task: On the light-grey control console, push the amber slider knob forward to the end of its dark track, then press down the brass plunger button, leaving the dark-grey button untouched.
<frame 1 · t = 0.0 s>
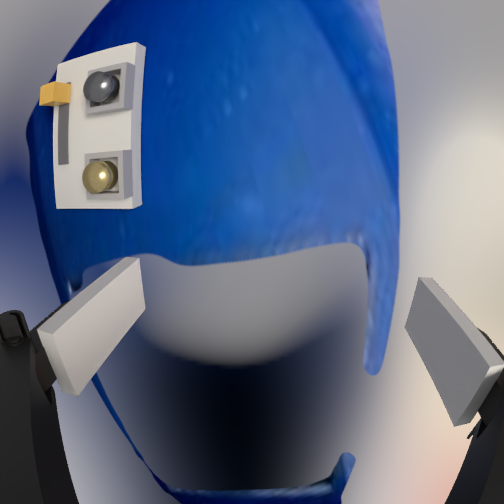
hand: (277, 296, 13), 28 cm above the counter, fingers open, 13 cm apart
brass button: (100, 176, 34), point 6 cm above the counter, slide at 0.0 cm
console: (99, 128, 38), on the counter
grey button: (101, 87, 30), point 6 cm above the counter, slide at 0.0 cm
slider knob: (55, 94, 32), point 6 cm above the counter, slide at 0.0 cm
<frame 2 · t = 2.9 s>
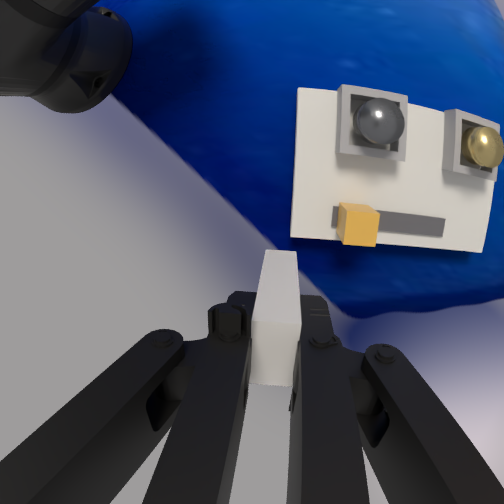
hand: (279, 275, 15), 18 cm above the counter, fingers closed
brass button: (482, 146, 21), point 6 cm above the counter, slide at 0.0 cm
console: (400, 172, 29), on the counter
grey button: (378, 121, 22), point 6 cm above the counter, slide at 0.0 cm
slider knob: (356, 223, 27), point 5 cm above the counter, slide at 0.0 cm
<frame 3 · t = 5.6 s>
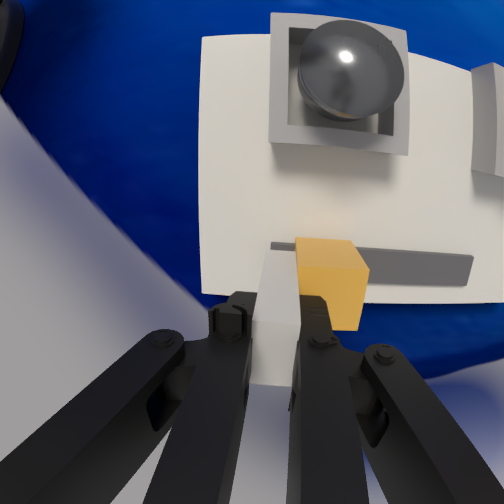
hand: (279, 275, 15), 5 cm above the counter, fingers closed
console: (398, 175, 17), on the counter
grey button: (346, 73, 10), point 6 cm above the counter, slide at 0.0 cm
slider knob: (325, 280, 14), point 6 cm above the counter, slide at 0.8 cm, touching gripper
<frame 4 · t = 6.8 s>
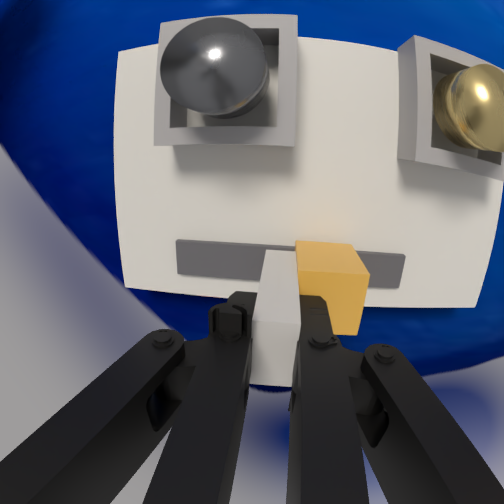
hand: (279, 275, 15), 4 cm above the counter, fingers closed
brass button: (479, 109, 10), point 6 cm above the counter, slide at 0.0 cm
console: (320, 170, 18), on the counter
grey button: (219, 70, 11), point 6 cm above the counter, slide at 0.0 cm
slider knob: (324, 284, 14), point 6 cm above the counter, slide at 6.1 cm, touching gripper
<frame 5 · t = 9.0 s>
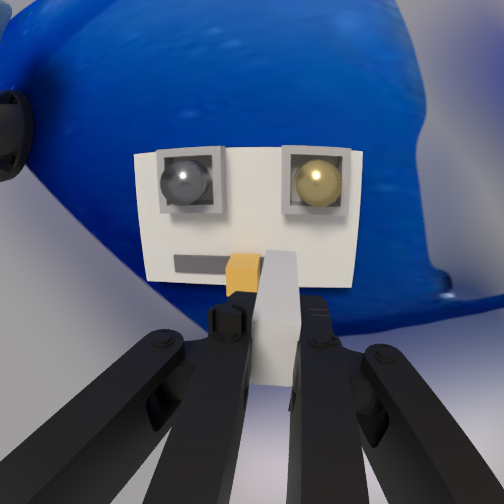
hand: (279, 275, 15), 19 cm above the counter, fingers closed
brass button: (317, 181, 26), point 6 cm above the counter, slide at 0.0 cm
console: (247, 213, 34), on the counter
grey button: (185, 181, 27), point 6 cm above the counter, slide at 0.0 cm
slider knob: (244, 274, 30), point 6 cm above the counter, slide at 6.2 cm
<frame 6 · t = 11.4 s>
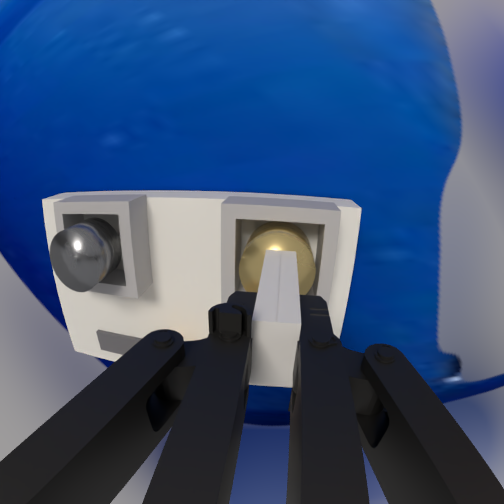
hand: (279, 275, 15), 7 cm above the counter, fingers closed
brass button: (277, 261, 17), point 5 cm above the counter, slide at 1.1 cm, touching gripper
console: (188, 283, 24), on the counter
grey button: (85, 253, 17), point 6 cm above the counter, slide at 0.0 cm
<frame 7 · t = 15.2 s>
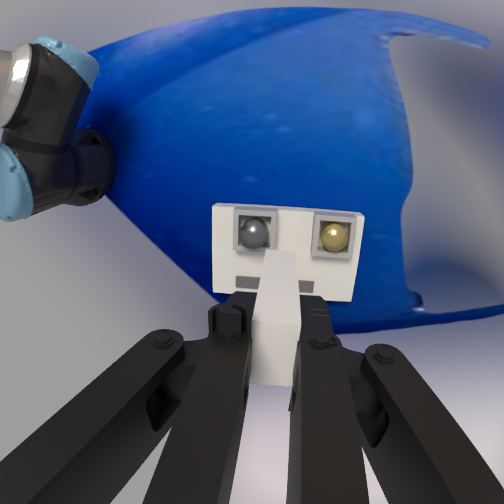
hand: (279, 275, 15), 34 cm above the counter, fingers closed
brass button: (333, 235, 44), point 5 cm above the counter, slide at 1.4 cm
console: (285, 250, 51), on the counter
grey button: (253, 233, 44), point 6 cm above the counter, slide at 0.0 cm
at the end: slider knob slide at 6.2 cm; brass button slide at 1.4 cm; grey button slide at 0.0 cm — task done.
